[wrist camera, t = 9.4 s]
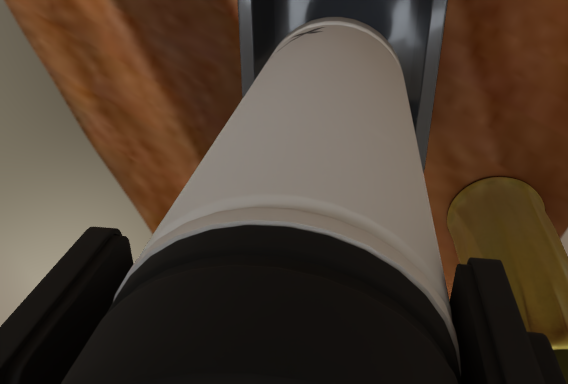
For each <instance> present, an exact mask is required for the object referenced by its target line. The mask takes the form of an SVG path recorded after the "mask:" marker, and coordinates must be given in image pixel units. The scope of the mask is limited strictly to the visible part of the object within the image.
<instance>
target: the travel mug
mask: <svg viewBox="0 0 568 384" xmlns="http://www.w3.org/2000/svg"><path fill="white" fill-rule="evenodd" d="M61 384H461V364H460V355H459V346H458V341H457V336H456V331H455V328H454V326H453V321H452V313H451V307H450V302H449V297H448V292H447V287H446V282H445V277H444V272H443V267H442V262H441V258H440V253H439V248H438V243H437V238H436V233H435V228H434V223H433V218H432V213H431V209H430V204H429V199H428V194H427V189H426V184H425V179H424V174H423V169H422V164H421V160H420V155H419V150H418V145H417V140H416V135H415V130H414V125H413V120H412V115H411V111H410V106H409V101H408V96H407V91H406V86H405V81H404V76H403V71H402V67H401V64H400V62H399V59H398V56H397V54H396V53H395V51H394V49H393V48H392V46H391V44H390V43H389V42H388V41H387V40H386V39H385V38H384V37H383V36H382V35H381V34H380V33H379V32H378V31H376V30H375V29H373V28H372V27H370V26H369V25H367V24H364V23H362V22H360V21H357V20H355V19H350V18H344V17H324V18H320V19H315V20H312V21H309V22H307V23H305V24H303V25H300V26H299V27H297V28H296V29H294V30H293V31H292V32H290V33H289V34H288V35H287V36H286V37H285V38H284V39H283V40H282V41H281V42H280V43H279V45H278V46H277V48H276V49H275V51H274V52H273V54H272V55H271V57H270V58H269V60H268V61H267V63H266V64H265V66H264V67H263V69H262V70H261V72H260V73H259V75H258V76H257V78H256V79H255V81H254V82H253V84H252V85H251V87H250V88H249V90H248V91H247V93H246V95H245V96H244V98H243V99H242V101H241V102H240V104H239V105H238V107H237V108H236V110H235V111H234V113H233V114H232V116H231V117H230V119H229V120H228V122H227V123H226V125H225V126H224V128H223V129H222V131H221V132H220V134H219V135H218V137H217V138H216V140H215V142H214V143H213V145H212V146H211V148H210V149H209V151H208V152H207V154H206V155H205V157H204V158H203V160H202V161H201V163H200V164H199V166H198V167H197V169H196V170H195V172H194V173H193V175H192V176H191V178H190V179H189V181H188V182H187V184H186V185H185V187H184V188H183V190H182V192H181V193H180V195H179V196H178V198H177V199H176V201H175V202H174V204H173V205H172V207H171V208H170V210H169V211H168V213H167V214H166V216H165V217H164V219H163V220H162V222H161V223H160V225H159V226H158V228H157V229H156V231H155V232H154V234H153V235H152V237H151V239H150V240H149V242H148V243H147V245H146V247H145V248H144V250H143V252H142V253H141V255H140V257H139V258H138V259H137V260H136V261H135V263H134V264H133V266H132V267H131V269H130V270H129V272H128V274H127V275H126V277H125V279H124V280H123V282H122V284H121V285H120V287H119V289H118V291H117V292H116V294H115V297H114V301H113V303H112V305H111V307H110V308H109V310H108V312H107V313H106V315H105V316H104V317H103V318H102V320H101V321H100V323H99V324H98V326H97V327H96V329H95V331H94V332H93V334H92V335H91V337H90V339H89V340H88V342H87V343H86V345H85V347H84V348H83V350H82V351H81V353H80V354H79V356H78V358H77V359H76V361H75V362H74V364H73V365H72V367H71V368H70V370H69V371H68V373H67V375H66V376H65V378H64V379H63V381H62V382H61Z"/></svg>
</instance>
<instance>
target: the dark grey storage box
mask: <svg viewBox="0 0 568 384" xmlns="http://www.w3.org/2000/svg"><path fill="white" fill-rule="evenodd" d="M447 4H448V0H238V17H239V38H240V58H241V79H242V99H243V98H244V96H245V95H246V93H247V91H248V90H249V88H250V87H251V85H252V84H253V82H254V81H255V79H256V78H257V76H258V75H259V73H260V72H261V70H262V69H263V67H264V66H265V64H266V63H267V61H268V60H269V58H270V57H271V55H272V54H273V52H274V51H275V49H276V48H277V46H278V45H279V43H280V42H281V41H282V40H283V39H284V38H285V37H286V36H287V35H288V34H289V33H290V32H292V31H293V30H294V29H296V28H297V27H299V26H300V25H303V24H305V23H307V22H309V21H312V20H315V19H320V18H324V17H344V18H350V19H355V20H357V21H360V22H362V23H364V24H367V25H369V26H370V27H372V28H373V29H375V30H376V31H378V32H379V33H380V34H381V35H382V36H383V37H384V38H385V39H386V40H387V41H388V42H389V43H390V44H391V46H392V48H393V49H394V51H395V53H396V54H397V56H398V59H399V62H400V64H401V67H402V71H403V76H404V81H405V86H406V91H407V96H408V101H409V106H410V111H411V115H412V120H413V125H414V130H415V135H416V140H417V145H418V150H419V155H420V160H421V164H422V169H423V174H424V169H425V162H426V155H427V148H428V141H429V133H430V126H431V119H432V112H433V105H434V97H435V90H436V83H437V76H438V68H439V61H440V54H441V47H442V40H443V32H444V25H445V18H446V11H447Z"/></svg>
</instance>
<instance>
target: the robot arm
mask: <svg viewBox="0 0 568 384" xmlns="http://www.w3.org/2000/svg"><path fill="white" fill-rule="evenodd" d="M132 266H133V260H132V254H131V248H130V243H129V240H128V238H127V237H126V236H122V234H121V232H120V230H118V229H115V228H102V227H90V228H89V229H87V230H86V231H85V232H84V234H83V235H82V236H81V237H80V238H79V239H78V240H77V241H76V242H75V244H74V245H73V246H72V247H71V248H70V249H69V250H68V252H67V253H66V254H65V255H64V256H63V257H62V258H61V259H60V260H59V261H58V263H57V264H56V265H55V266H54V267H53V268H52V269H51V270H50V272H49V273H48V274H47V275H46V276H45V277H44V278H43V279H42V281H41V282H40V283H39V284H38V285H37V286H36V287H35V289H34V290H33V291H32V292H31V293H30V294H29V295H28V296H27V298H26V299H25V300H24V301H23V302H22V303H21V304H20V306H18V307H17V309H16V310H15V311H14V312H13V313H12V314H11V315H10V316H9V318H8V319H7V320H6V321H5V322H4V323H3V324H2V325H1V327H0V384H61V382H62V381H63V379H64V378H65V376H66V375H67V373H68V371H69V370H70V368H71V367H72V365H73V364H74V362H75V361H76V359H77V358H78V356H79V354H80V353H81V351H82V350H83V348H84V347H85V345H86V343H87V342H88V340H89V339H90V337H91V335H92V334H93V332H94V331H95V329H96V327H97V326H98V324H99V323H100V321H101V320H102V318H103V317H104V316H105V315H106V313H107V312H108V310H109V308H110V307H111V305H112V303H113V301H114V297H115V294H116V292H117V291H118V289H119V287H120V285H121V284H122V282H123V280H124V279H125V277H126V275H127V274H128V272H129V270H130V269H131V267H132ZM450 307H451V313H452V321H453V326H454V328H455V331H456V336H457V341H458V346H459V355H460V364H461V384H567V383H566V381H565V378H564V376H563V373H562V371H561V368H560V366H559V363H558V361H557V358H556V356H555V353H554V351H553V348H552V346H551V343H550V341H549V340H548V338H547V336H546V335H544V334H543V333H536V332H527V331H526V328H525V325H524V322H523V320H522V317H521V314H520V311H519V308H518V305H517V303H516V300H515V297H514V294H513V291H512V289H511V286H510V283H509V280H508V277H507V275H506V272H505V269H504V266H503V264H502V262H501V260H497V259H485V258H473V257H470V258H469V259H468V261H467V264H458V265H457V267H456V272H455V277H454V282H453V287H452V293H451V298H450Z"/></svg>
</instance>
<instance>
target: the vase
mask: <svg viewBox="0 0 568 384" xmlns="http://www.w3.org/2000/svg"><path fill="white" fill-rule="evenodd" d="M447 227H448V230H449V232H450V234H451V236H452V239H453V242H454V245H455V249H456V252H457V255H458V258H459V261H460V264H467V261H468V259H469V258H470V257H473V258H485V259H497V260H501V262H502V264H503V266H504V269H505V272H506V275H507V277H508V280H509V283H510V286H511V289H512V291H513V294H514V297H515V300H516V303H517V305H518V308H519V311H520V314H521V317H522V320H523V322H524V325H525V328H526V331H527V332H536V333H543V334H544V335H546V336H547V338H548V340H549V341H550V343H551V346H552V348H553V351H554V353H555V356H556V358H557V361H558V363H559V366H560V368H561V371H562V373H563V376H564V378H565V381H566V383H567V384H568V256H567V254H566V252H565V250H564V247H563V245H562V243H561V241H560V238H559V236H558V234H557V232H556V230H555V228H554V226H553V224H552V222H551V221H550V219H549V217H548V216H547V214H546V212H545V206H544V203H543V201H542V199H541V197H540V196H539V194H538V193H537V192H536V191H535V190H534V189H533V188H532V187H531V186H530V185H528V184H526V183H525V182H522V181H520V180H517V179H513V178H507V177H492V178H487V179H483V180H480V181H477V182H475V183H473V184H471V185H469V186H467V187H466V188H465V189H463V190H462V191H461V192H460V193H459V194H458V195H457V196H456V197H455V199H454V200H453V202H452V203H451V205H450V208H449V210H448V214H447Z"/></svg>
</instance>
